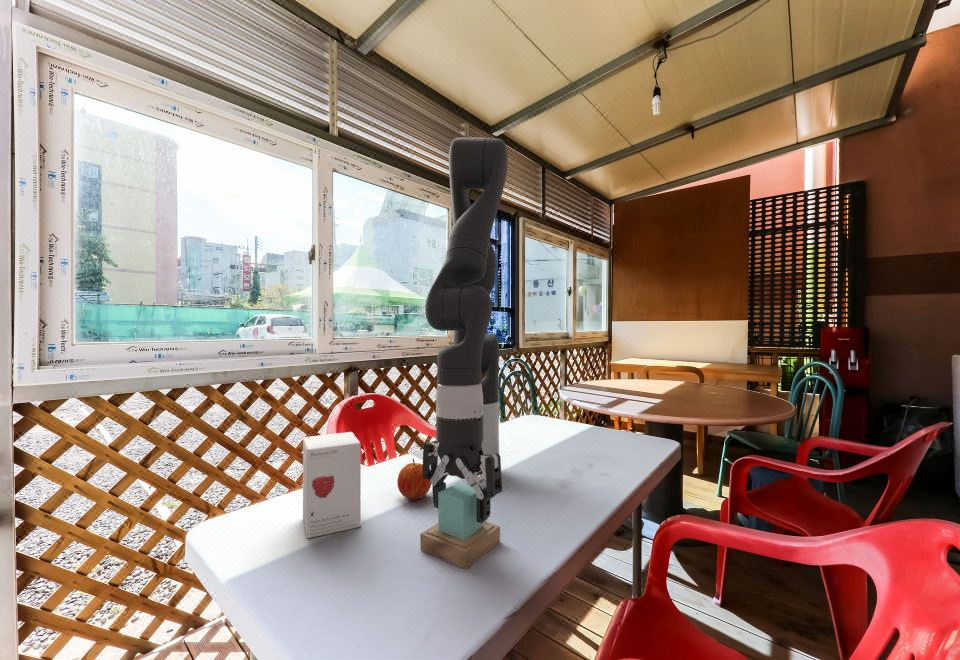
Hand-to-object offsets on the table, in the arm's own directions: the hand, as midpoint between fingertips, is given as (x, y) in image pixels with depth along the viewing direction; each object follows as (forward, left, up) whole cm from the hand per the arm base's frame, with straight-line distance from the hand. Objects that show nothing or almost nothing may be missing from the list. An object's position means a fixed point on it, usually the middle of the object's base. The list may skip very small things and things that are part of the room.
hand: (460, 513), depth 63 cm
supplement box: (-24, -7, -5) cm, 26 cm away
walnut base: (0, 0, -5) cm, 5 cm away
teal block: (0, 0, -2) cm, 2 cm away
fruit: (-19, +9, -5) cm, 22 cm away
